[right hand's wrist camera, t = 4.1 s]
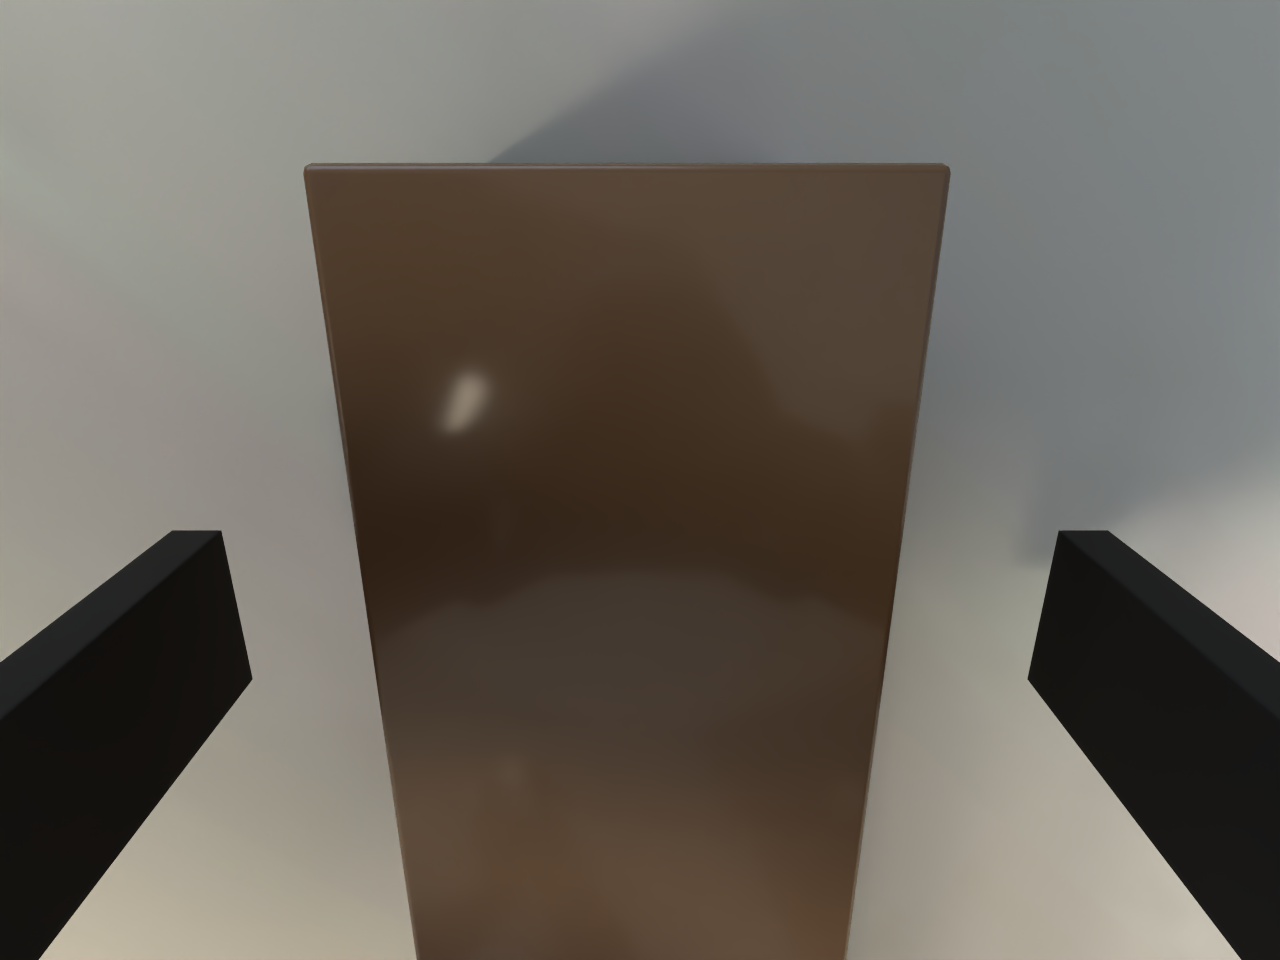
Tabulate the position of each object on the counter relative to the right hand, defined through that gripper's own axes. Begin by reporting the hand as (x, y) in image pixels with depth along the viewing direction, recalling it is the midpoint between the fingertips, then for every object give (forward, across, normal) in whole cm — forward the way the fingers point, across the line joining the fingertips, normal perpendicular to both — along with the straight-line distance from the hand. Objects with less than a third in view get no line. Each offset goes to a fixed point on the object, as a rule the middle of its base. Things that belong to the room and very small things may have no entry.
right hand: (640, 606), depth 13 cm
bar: (+3, 0, -24) cm, 24 cm away
